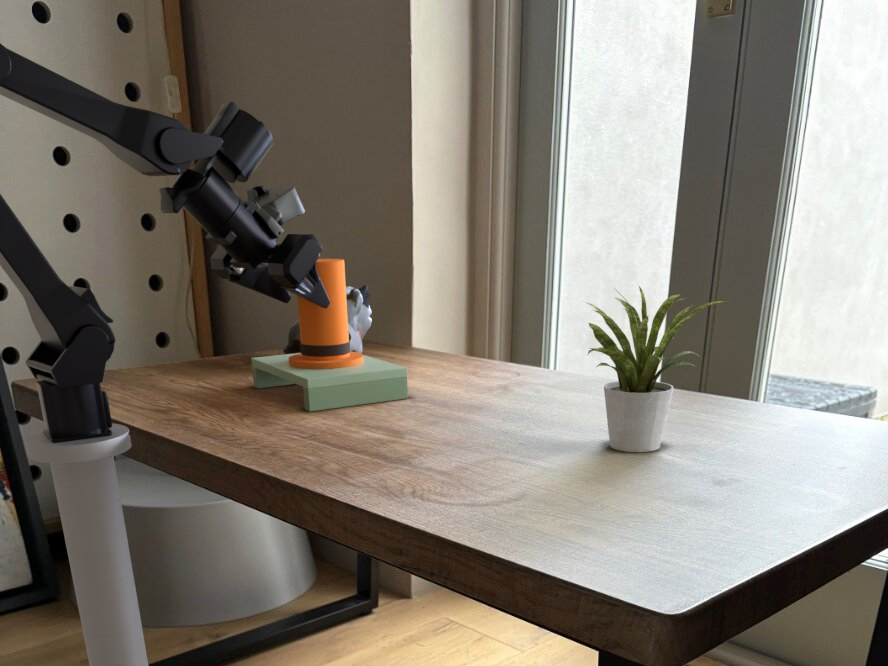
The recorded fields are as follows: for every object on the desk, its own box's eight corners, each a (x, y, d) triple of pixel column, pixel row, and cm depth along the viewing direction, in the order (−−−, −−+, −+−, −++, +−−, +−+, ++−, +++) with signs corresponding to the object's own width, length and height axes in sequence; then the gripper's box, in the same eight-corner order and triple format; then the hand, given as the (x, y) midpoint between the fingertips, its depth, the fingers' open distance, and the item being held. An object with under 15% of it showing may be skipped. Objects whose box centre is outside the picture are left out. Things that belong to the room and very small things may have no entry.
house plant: (704, 429, 104) (718, 275, 97) (727, 462, 91) (745, 288, 85) (575, 429, 105) (581, 276, 98) (581, 461, 92) (588, 289, 86)
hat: (346, 370, 120) (339, 263, 114) (276, 367, 122) (266, 262, 117) (374, 357, 128) (369, 257, 123) (308, 355, 131) (300, 257, 126)
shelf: (309, 411, 116) (307, 379, 114) (253, 386, 131) (250, 357, 130) (408, 398, 122) (407, 367, 121) (343, 376, 138) (341, 348, 136)
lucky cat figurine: (278, 356, 154) (303, 276, 154) (346, 382, 158) (371, 304, 158) (289, 342, 140) (316, 253, 140) (363, 370, 143) (390, 284, 143)
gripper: (302, 157, 104) (384, 257, 115) (222, 163, 117) (302, 252, 128) (247, 235, 103) (336, 328, 114) (172, 231, 116) (258, 316, 127)
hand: (307, 303), depth 121 cm, fingers open, 9 cm apart
